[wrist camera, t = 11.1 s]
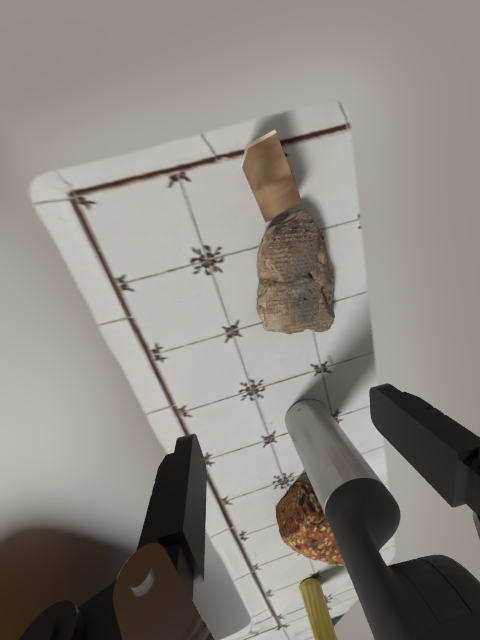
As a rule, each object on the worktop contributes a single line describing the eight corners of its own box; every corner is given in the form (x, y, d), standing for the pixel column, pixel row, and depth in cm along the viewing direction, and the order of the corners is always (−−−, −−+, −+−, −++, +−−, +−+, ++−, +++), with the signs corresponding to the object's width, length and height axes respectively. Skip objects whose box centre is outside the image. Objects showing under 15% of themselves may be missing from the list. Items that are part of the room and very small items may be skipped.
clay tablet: (250, 215, 36) (254, 333, 41) (257, 207, 31) (261, 342, 36) (332, 212, 38) (326, 326, 43) (350, 205, 33) (341, 334, 38)
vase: (324, 580, 63) (355, 669, 49) (310, 593, 64) (337, 684, 50) (308, 575, 61) (335, 665, 48) (294, 588, 62) (317, 681, 49)
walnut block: (287, 210, 36) (264, 151, 33) (302, 201, 30) (275, 129, 28) (265, 222, 36) (240, 164, 33) (275, 215, 30) (246, 144, 28)
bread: (354, 499, 56) (383, 548, 46) (329, 528, 58) (352, 581, 48) (296, 475, 52) (315, 525, 42) (271, 507, 53) (284, 562, 44)
